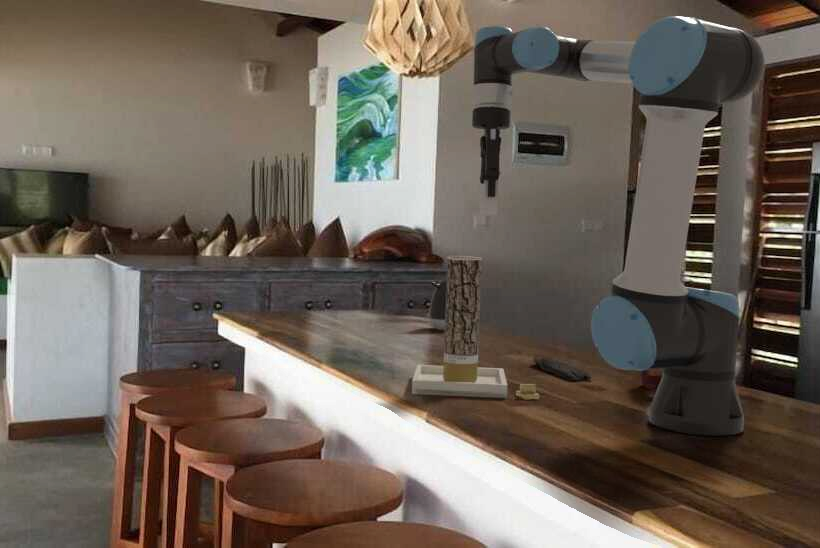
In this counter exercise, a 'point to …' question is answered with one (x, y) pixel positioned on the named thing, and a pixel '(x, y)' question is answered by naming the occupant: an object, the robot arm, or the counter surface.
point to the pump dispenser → (438, 305)
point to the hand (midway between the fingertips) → (487, 215)
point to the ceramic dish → (459, 383)
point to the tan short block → (527, 392)
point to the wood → (562, 370)
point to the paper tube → (462, 318)
